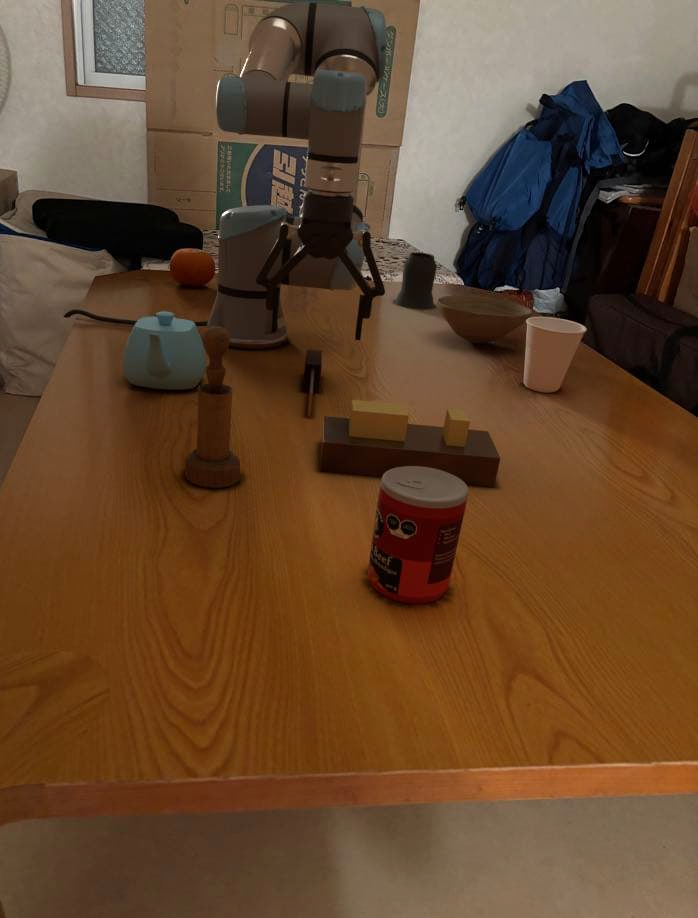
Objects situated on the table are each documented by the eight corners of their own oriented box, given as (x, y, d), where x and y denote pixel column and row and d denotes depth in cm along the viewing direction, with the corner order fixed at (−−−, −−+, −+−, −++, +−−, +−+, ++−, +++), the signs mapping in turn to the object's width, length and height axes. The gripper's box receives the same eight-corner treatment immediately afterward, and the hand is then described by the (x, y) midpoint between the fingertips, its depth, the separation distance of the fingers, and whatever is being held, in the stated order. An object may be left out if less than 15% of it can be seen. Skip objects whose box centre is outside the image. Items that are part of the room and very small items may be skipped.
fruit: (163, 286, 179) (163, 250, 175) (176, 278, 188) (177, 243, 184) (208, 292, 178) (209, 255, 174) (219, 283, 187) (220, 248, 183)
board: (319, 471, 97) (323, 441, 95) (321, 443, 105) (324, 415, 103) (494, 487, 97) (500, 458, 95) (482, 458, 105) (488, 431, 103)
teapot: (107, 326, 108) (134, 297, 124) (110, 399, 113) (135, 362, 129) (197, 334, 108) (212, 304, 124) (196, 406, 114) (211, 369, 129)
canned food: (360, 562, 79) (374, 463, 73) (436, 563, 80) (456, 466, 74) (373, 605, 72) (390, 500, 67) (456, 606, 73) (479, 503, 68)
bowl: (465, 326, 169) (472, 289, 165) (540, 348, 158) (549, 308, 154) (413, 337, 157) (419, 297, 153) (490, 362, 146) (499, 319, 142)
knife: (317, 418, 114) (320, 387, 111) (300, 416, 114) (302, 386, 111) (319, 377, 130) (322, 350, 128) (304, 376, 130) (306, 349, 128)
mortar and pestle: (247, 472, 95) (255, 326, 86) (227, 493, 90) (233, 339, 81) (198, 461, 97) (201, 317, 88) (175, 481, 92) (175, 329, 83)
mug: (434, 310, 180) (443, 260, 174) (395, 306, 180) (402, 256, 175) (431, 299, 190) (439, 251, 185) (394, 295, 191) (401, 247, 185)
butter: (349, 436, 98) (352, 410, 96) (348, 425, 101) (352, 399, 99) (404, 441, 98) (408, 415, 96) (402, 429, 101) (406, 404, 99)
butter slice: (445, 445, 98) (450, 419, 96) (442, 433, 101) (447, 408, 99) (464, 447, 98) (470, 421, 96) (460, 435, 101) (465, 409, 99)
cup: (572, 400, 130) (590, 335, 125) (513, 392, 131) (528, 327, 126) (566, 382, 139) (583, 321, 133) (510, 375, 140) (524, 313, 134)
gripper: (242, 187, 111) (236, 333, 122) (415, 203, 111) (393, 347, 122) (247, 181, 118) (241, 320, 129) (411, 196, 118) (391, 334, 129)
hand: (315, 334), depth 126 cm, fingers open, 13 cm apart
